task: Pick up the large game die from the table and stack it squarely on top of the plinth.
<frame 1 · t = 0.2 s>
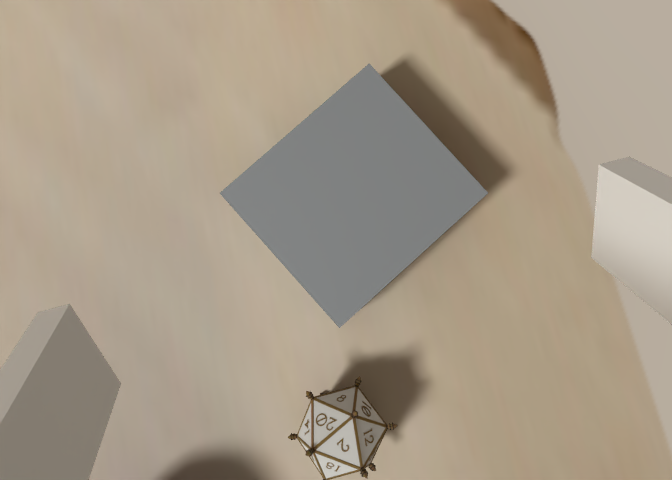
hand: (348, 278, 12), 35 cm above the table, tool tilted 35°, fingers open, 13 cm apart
game die: (340, 417, 46), on the table
plinth: (351, 201, 47), on the table
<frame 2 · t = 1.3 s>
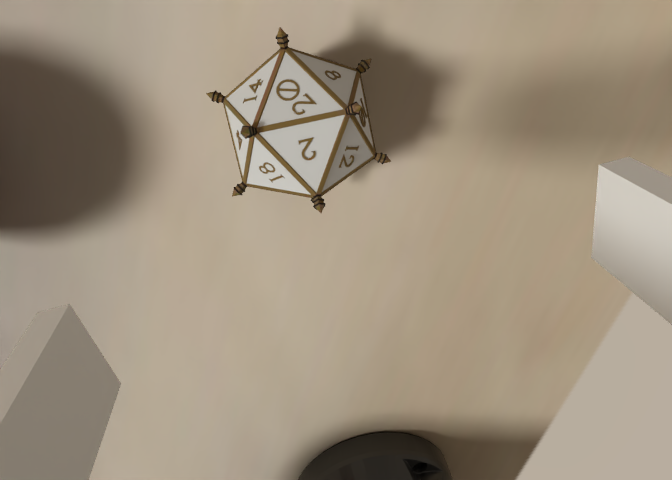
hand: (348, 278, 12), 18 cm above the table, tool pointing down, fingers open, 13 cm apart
game die: (295, 109, 28), on the table
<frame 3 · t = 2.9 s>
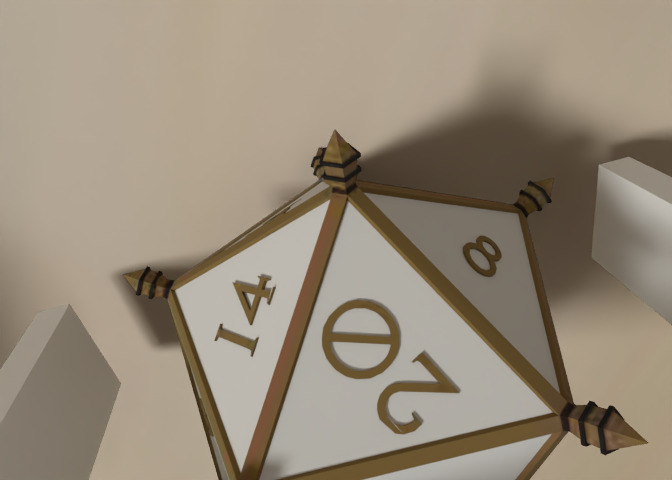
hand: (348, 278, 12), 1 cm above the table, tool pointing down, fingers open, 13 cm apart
game die: (338, 248, 13), on the table
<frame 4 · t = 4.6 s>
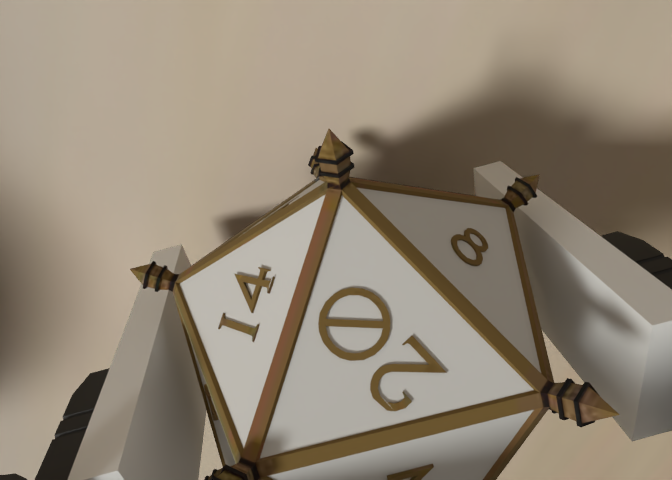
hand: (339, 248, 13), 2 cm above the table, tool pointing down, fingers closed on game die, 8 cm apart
game die: (336, 245, 13), point 1 cm above the table, touching gripper
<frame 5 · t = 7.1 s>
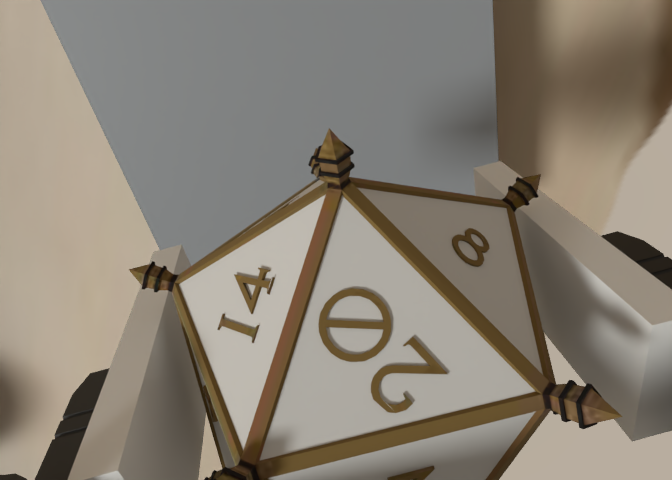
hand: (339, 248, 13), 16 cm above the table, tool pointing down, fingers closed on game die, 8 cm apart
game die: (336, 245, 13), point 15 cm above the table, touching gripper
plinth: (303, 105, 26), on the table
when the fingers open (6 cm above the table, at t = 9.7 s): game die stays where it is, resting on plinth.
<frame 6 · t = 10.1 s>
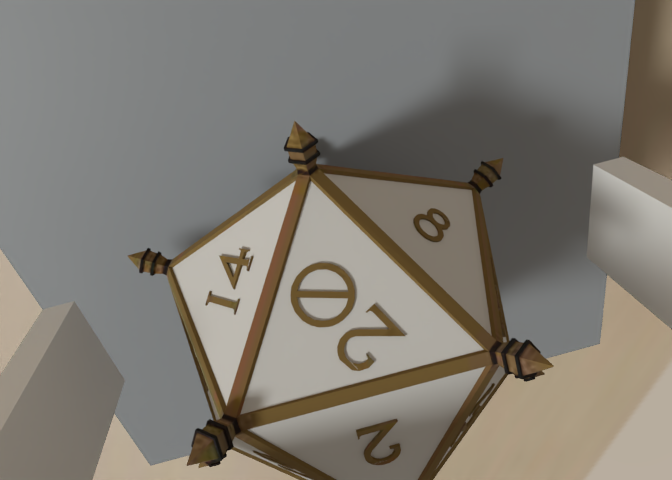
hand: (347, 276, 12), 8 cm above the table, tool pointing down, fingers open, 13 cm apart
game die: (323, 231, 14), point 5 cm above the table, touching plinth
plinth: (315, 169, 18), on the table
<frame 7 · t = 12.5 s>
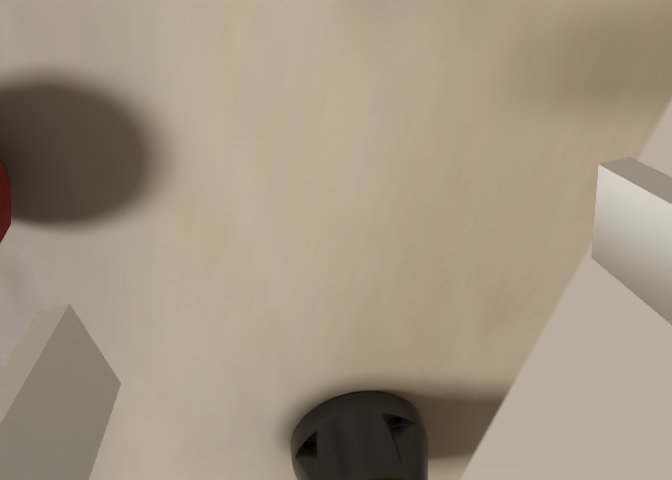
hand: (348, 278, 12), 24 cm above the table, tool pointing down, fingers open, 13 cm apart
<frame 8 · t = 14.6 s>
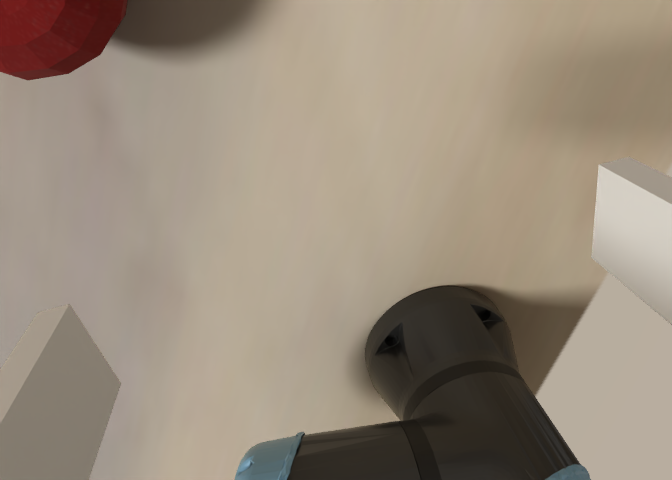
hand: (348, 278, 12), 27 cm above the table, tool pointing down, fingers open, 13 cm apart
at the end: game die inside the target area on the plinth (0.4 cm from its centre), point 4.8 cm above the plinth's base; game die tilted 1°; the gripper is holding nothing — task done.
